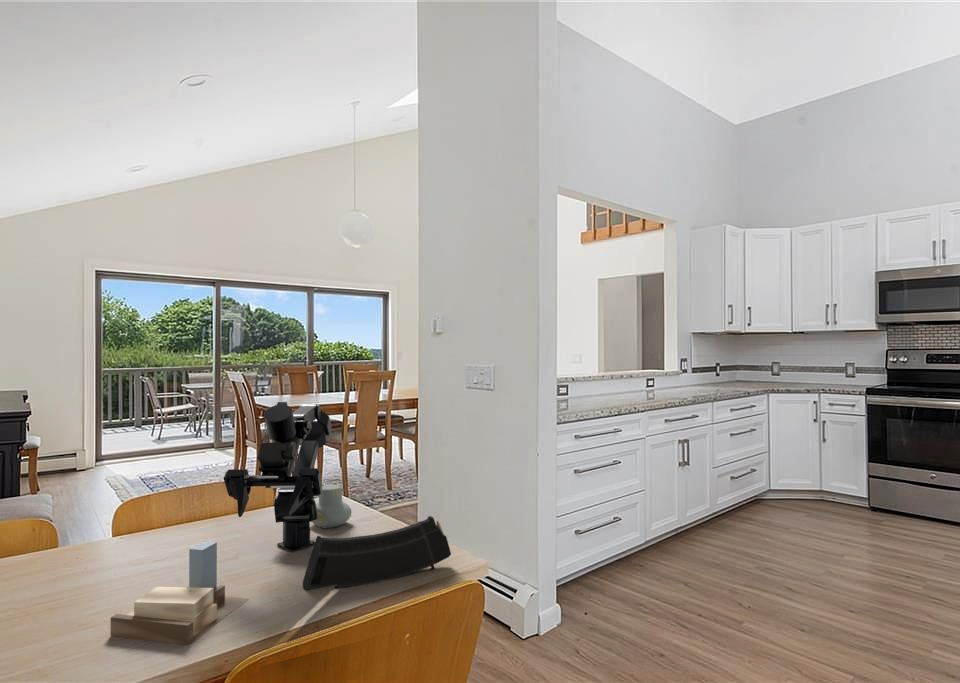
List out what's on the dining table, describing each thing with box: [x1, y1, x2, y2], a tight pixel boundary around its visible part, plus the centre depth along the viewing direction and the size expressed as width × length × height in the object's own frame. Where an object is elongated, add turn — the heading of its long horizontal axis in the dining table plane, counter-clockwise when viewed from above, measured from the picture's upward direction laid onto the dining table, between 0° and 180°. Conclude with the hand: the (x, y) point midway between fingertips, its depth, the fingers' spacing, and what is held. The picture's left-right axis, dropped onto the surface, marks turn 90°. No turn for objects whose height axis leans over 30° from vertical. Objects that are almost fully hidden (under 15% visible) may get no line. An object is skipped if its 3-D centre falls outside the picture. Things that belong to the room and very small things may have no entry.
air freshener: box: [311, 484, 352, 529], centre depth 152 cm, size 11×8×10 cm
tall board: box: [188, 540, 218, 589], centre depth 103 cm, size 4×3×10 cm, turn 169°
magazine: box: [302, 515, 452, 590], centre depth 117 cm, size 17×3×30 cm
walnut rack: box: [110, 584, 250, 646], centre depth 99 cm, size 16×14×4 cm
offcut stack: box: [126, 586, 217, 636], centre depth 96 cm, size 7×12×5 cm, turn 79°
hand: (263, 515), depth 111 cm, fingers open, 9 cm apart
